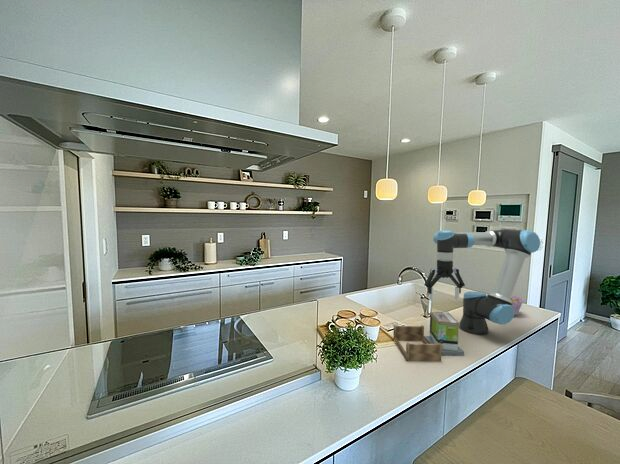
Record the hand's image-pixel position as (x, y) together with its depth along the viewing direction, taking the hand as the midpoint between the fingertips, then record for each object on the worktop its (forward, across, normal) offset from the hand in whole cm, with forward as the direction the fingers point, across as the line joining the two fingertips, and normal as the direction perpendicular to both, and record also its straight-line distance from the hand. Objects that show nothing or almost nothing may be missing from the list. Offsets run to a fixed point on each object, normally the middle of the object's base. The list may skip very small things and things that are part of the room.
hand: (444, 299), depth 137 cm
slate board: (+25, +1, +2) cm, 25 cm away
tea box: (+23, +1, +1) cm, 23 cm away
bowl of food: (+26, -67, -46) cm, 86 cm away
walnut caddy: (+25, +17, +4) cm, 30 cm away
